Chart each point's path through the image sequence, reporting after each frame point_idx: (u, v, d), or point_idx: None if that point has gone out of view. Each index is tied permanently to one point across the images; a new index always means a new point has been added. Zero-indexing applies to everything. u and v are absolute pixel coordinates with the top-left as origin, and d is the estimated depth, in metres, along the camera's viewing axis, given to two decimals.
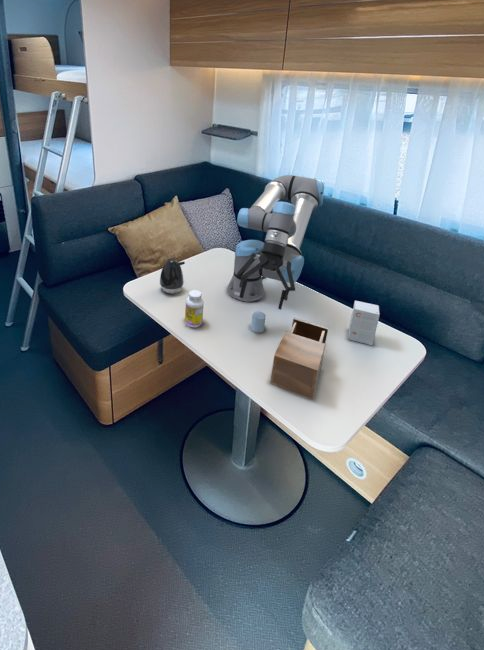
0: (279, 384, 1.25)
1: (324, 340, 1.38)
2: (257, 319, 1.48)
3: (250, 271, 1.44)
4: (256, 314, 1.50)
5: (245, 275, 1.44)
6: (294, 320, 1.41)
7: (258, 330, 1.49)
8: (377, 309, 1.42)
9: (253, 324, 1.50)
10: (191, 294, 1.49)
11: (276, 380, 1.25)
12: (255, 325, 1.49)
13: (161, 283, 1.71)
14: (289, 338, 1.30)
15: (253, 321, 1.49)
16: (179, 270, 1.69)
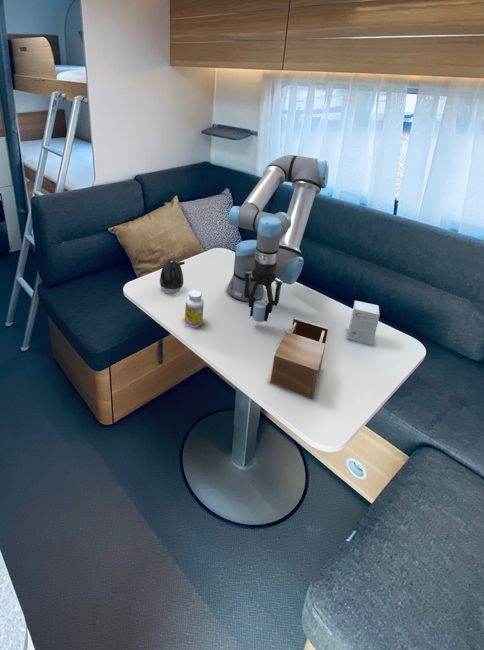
0: (279, 384, 1.25)
1: (324, 340, 1.38)
2: (259, 308, 1.46)
3: (253, 292, 1.47)
4: (257, 303, 1.48)
5: (251, 297, 1.48)
6: (294, 320, 1.41)
7: (260, 319, 1.48)
8: (377, 309, 1.42)
9: (255, 313, 1.48)
10: (191, 294, 1.49)
11: (276, 380, 1.25)
12: (256, 314, 1.47)
13: (161, 283, 1.71)
14: (289, 338, 1.30)
15: (255, 310, 1.48)
16: (179, 270, 1.69)
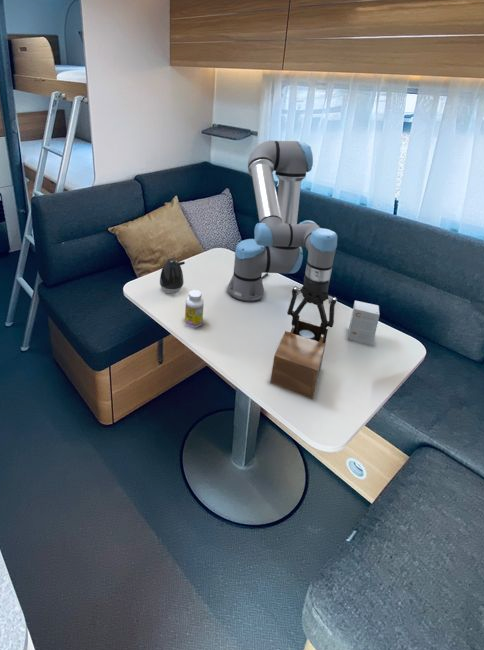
0: (279, 384, 1.25)
1: (324, 340, 1.38)
2: None
3: (298, 310, 1.33)
4: (303, 333, 1.37)
5: (296, 314, 1.34)
6: None
7: None
8: (377, 309, 1.42)
9: None
10: (191, 294, 1.49)
11: (276, 380, 1.25)
12: None
13: (161, 283, 1.71)
14: (289, 338, 1.30)
15: None
16: (179, 270, 1.69)
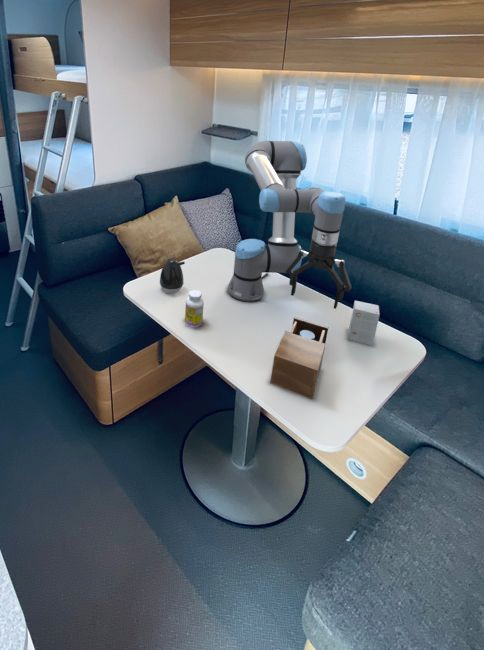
0: (279, 384, 1.25)
1: (324, 339, 1.39)
2: None
3: (299, 270, 1.32)
4: (304, 334, 1.36)
5: (294, 274, 1.34)
6: (294, 319, 1.42)
7: None
8: (377, 309, 1.42)
9: None
10: (191, 294, 1.49)
11: (276, 380, 1.25)
12: None
13: (161, 283, 1.71)
14: (289, 338, 1.30)
15: None
16: (179, 270, 1.69)
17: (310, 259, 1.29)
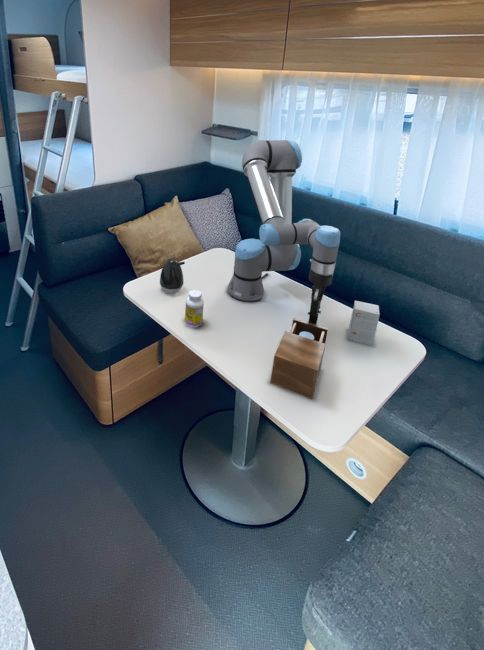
0: (279, 384, 1.25)
1: (324, 341, 1.38)
2: None
3: None
4: (303, 335, 1.36)
5: None
6: (294, 321, 1.41)
7: None
8: (377, 309, 1.42)
9: None
10: (191, 294, 1.49)
11: (276, 380, 1.25)
12: None
13: (161, 283, 1.71)
14: (289, 338, 1.30)
15: None
16: (179, 270, 1.69)
17: None
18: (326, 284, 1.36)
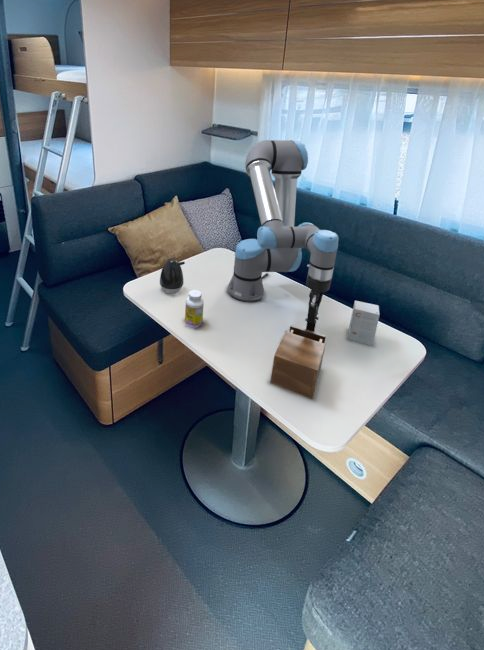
0: (279, 384, 1.25)
1: None
2: None
3: None
4: None
5: None
6: (291, 327, 1.37)
7: None
8: (377, 309, 1.42)
9: None
10: (191, 294, 1.49)
11: (276, 380, 1.25)
12: None
13: (161, 283, 1.71)
14: (289, 338, 1.30)
15: None
16: (179, 270, 1.69)
17: None
18: (324, 290, 1.32)
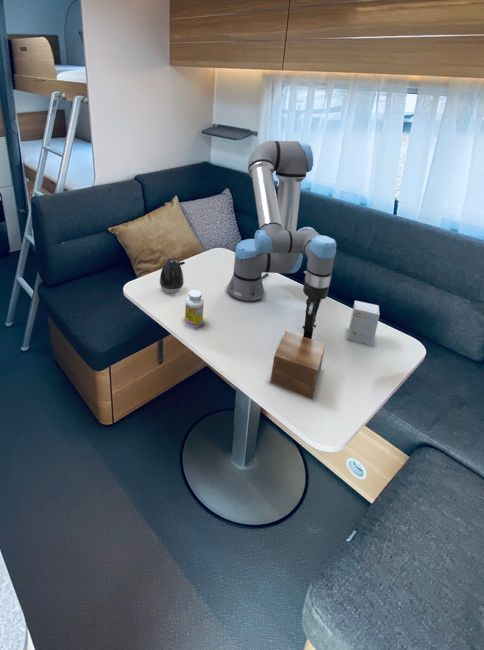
0: (279, 384, 1.25)
1: None
2: None
3: None
4: None
5: None
6: None
7: None
8: (377, 309, 1.42)
9: None
10: (191, 294, 1.49)
11: (276, 380, 1.25)
12: None
13: (161, 283, 1.71)
14: (289, 338, 1.30)
15: None
16: (179, 270, 1.69)
17: None
18: (321, 297, 1.28)
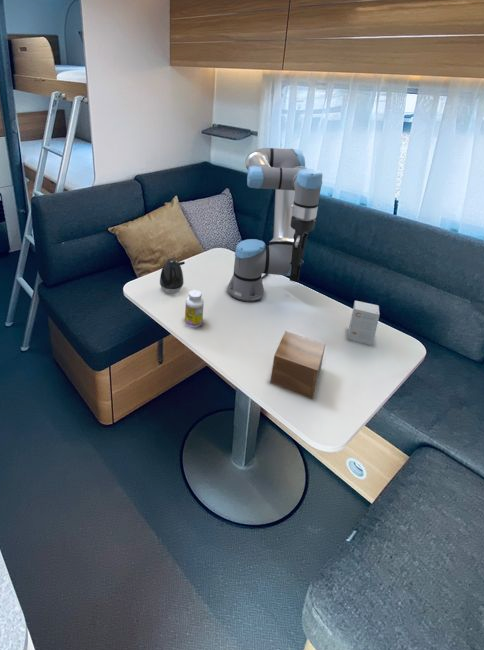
0: (279, 384, 1.25)
1: None
2: None
3: None
4: None
5: None
6: None
7: None
8: (377, 309, 1.42)
9: None
10: (191, 294, 1.49)
11: (276, 380, 1.25)
12: None
13: (161, 283, 1.71)
14: (289, 338, 1.30)
15: None
16: (179, 270, 1.69)
17: None
18: (308, 230, 1.30)
